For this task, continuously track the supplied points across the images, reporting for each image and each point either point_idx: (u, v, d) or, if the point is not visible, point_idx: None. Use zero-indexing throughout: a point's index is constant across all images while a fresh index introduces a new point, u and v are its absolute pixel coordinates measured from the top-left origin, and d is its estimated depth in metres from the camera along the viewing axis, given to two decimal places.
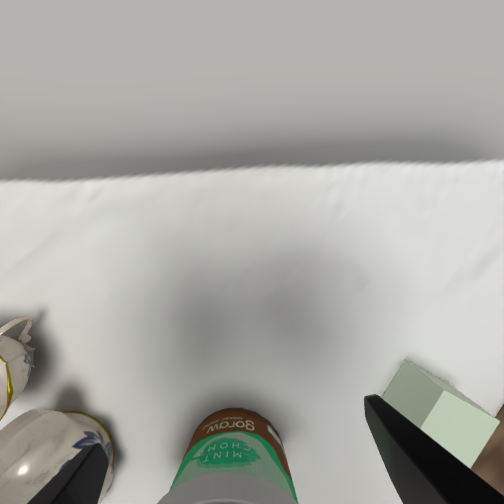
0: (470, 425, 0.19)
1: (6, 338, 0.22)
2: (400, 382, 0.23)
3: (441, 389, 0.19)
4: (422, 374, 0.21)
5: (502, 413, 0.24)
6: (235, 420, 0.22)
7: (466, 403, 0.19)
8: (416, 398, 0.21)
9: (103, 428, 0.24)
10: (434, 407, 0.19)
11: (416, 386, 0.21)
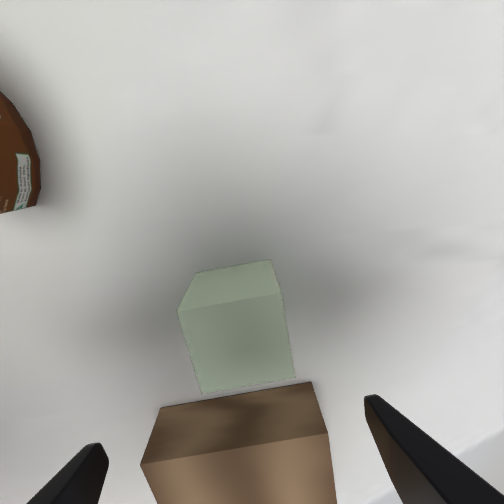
0: (263, 354, 0.12)
1: None
2: (240, 269, 0.15)
3: (278, 291, 0.12)
4: (272, 274, 0.14)
5: (293, 388, 0.19)
6: None
7: (285, 330, 0.12)
8: (239, 285, 0.13)
9: None
10: (249, 299, 0.11)
11: (252, 278, 0.14)
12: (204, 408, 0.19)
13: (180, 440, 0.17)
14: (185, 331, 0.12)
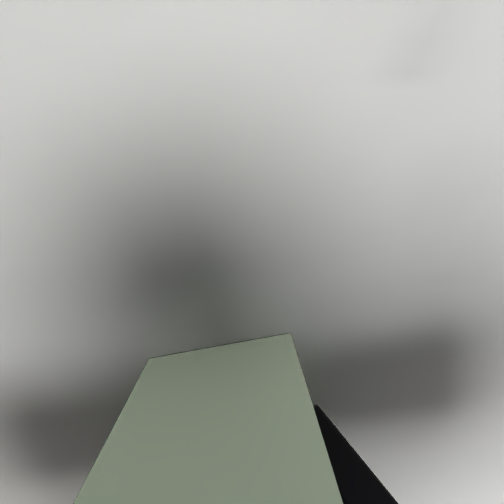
0: None
1: None
2: (232, 364, 0.08)
3: None
4: (306, 399, 0.06)
5: None
6: None
7: None
8: (228, 444, 0.05)
9: None
10: None
11: (259, 412, 0.06)
12: None
13: None
14: None
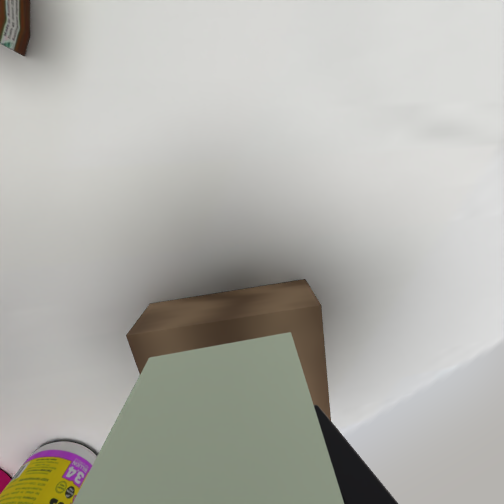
0: None
1: None
2: (232, 363, 0.08)
3: None
4: (306, 398, 0.06)
5: (287, 283, 0.18)
6: None
7: None
8: (228, 443, 0.05)
9: None
10: None
11: (259, 410, 0.06)
12: (195, 300, 0.18)
13: (169, 319, 0.16)
14: None
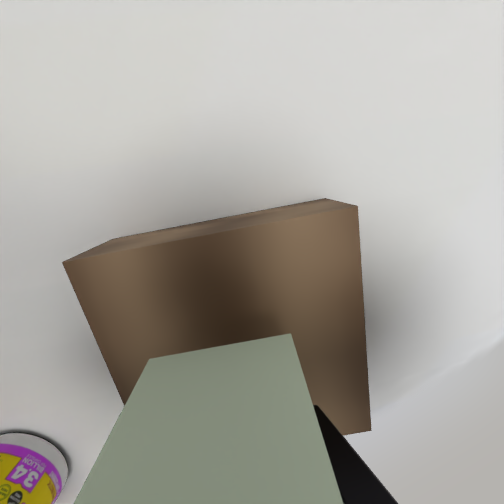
0: None
1: None
2: (232, 365, 0.08)
3: None
4: (306, 400, 0.06)
5: (301, 203, 0.13)
6: None
7: None
8: (228, 444, 0.05)
9: None
10: None
11: (259, 412, 0.06)
12: (173, 229, 0.13)
13: (131, 244, 0.11)
14: None
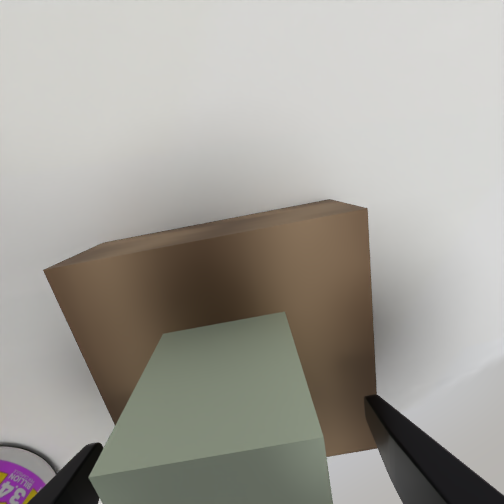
0: None
1: None
2: (234, 336, 0.09)
3: (315, 428, 0.05)
4: (294, 358, 0.07)
5: (303, 205, 0.12)
6: None
7: (328, 500, 0.06)
8: (232, 389, 0.07)
9: None
10: (250, 451, 0.05)
11: (257, 367, 0.07)
12: (166, 232, 0.12)
13: (120, 249, 0.10)
14: None
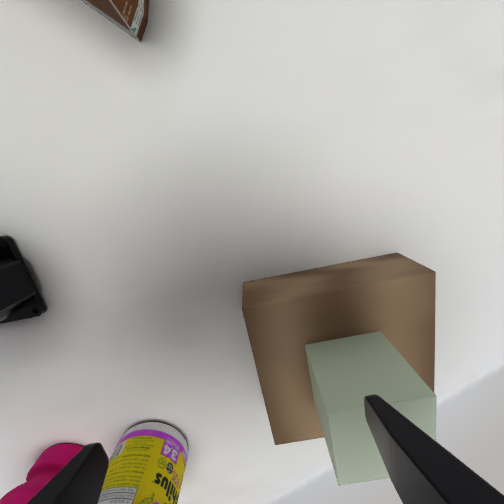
0: None
1: None
2: (356, 346, 0.15)
3: (430, 392, 0.11)
4: (402, 359, 0.14)
5: (380, 257, 0.19)
6: None
7: (433, 428, 0.12)
8: (375, 376, 0.13)
9: None
10: (402, 402, 0.11)
11: (383, 365, 0.13)
12: (290, 277, 0.18)
13: (276, 293, 0.16)
14: (333, 431, 0.12)
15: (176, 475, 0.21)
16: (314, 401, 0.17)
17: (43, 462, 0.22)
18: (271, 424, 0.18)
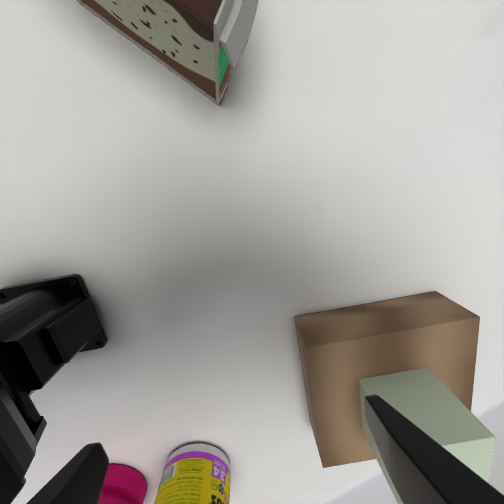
0: None
1: None
2: (409, 383, 0.17)
3: (489, 433, 0.13)
4: (456, 398, 0.15)
5: (421, 295, 0.20)
6: None
7: (489, 463, 0.14)
8: (434, 415, 0.15)
9: None
10: (466, 442, 0.13)
11: (439, 403, 0.15)
12: (340, 313, 0.20)
13: (333, 332, 0.18)
14: None
15: (226, 495, 0.22)
16: (363, 429, 0.19)
17: None
18: (321, 449, 0.20)
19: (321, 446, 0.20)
